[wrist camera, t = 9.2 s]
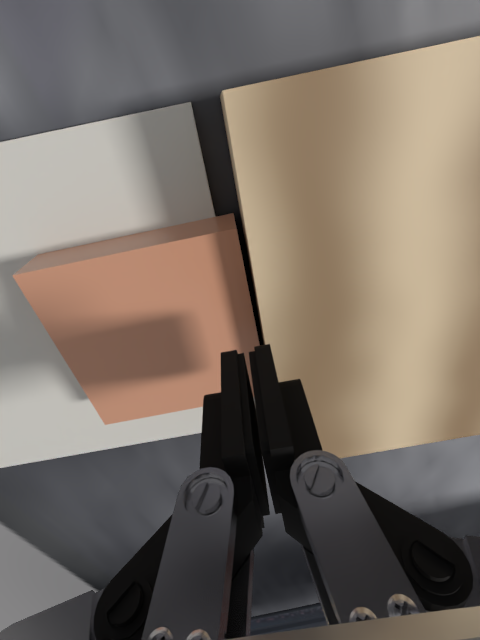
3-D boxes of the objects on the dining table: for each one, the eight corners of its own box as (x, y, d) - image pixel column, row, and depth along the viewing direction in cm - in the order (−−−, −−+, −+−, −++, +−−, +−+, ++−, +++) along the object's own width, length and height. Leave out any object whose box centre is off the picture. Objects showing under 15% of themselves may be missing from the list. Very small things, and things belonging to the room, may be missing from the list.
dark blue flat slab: (374, 658, 46) (268, 676, 47) (369, 639, 47) (266, 658, 49) (362, 610, 35) (226, 635, 37) (355, 588, 37) (225, 613, 38)
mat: (190, 102, 11) (190, 101, 11) (258, 417, 20) (259, 422, 19) (-248, 195, 12) (-262, 197, 11) (3, 462, 20) (-1, 467, 20)
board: (773, -22, 11) (992, -74, 8) (581, 360, 19) (648, 405, 16) (219, 95, 11) (222, 90, 8) (275, 414, 20) (285, 467, 17)
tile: (233, 212, 13) (236, 228, 11) (263, 366, 17) (269, 394, 15) (37, 254, 13) (11, 275, 12) (115, 394, 17) (105, 424, 16)
